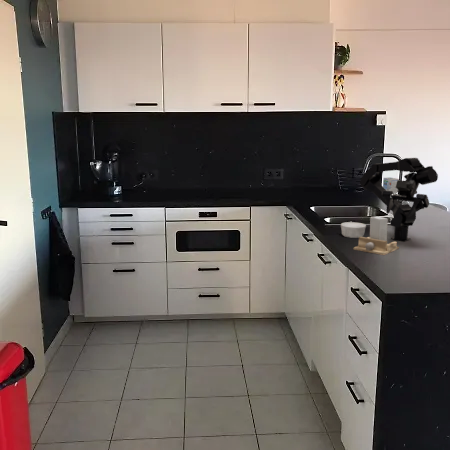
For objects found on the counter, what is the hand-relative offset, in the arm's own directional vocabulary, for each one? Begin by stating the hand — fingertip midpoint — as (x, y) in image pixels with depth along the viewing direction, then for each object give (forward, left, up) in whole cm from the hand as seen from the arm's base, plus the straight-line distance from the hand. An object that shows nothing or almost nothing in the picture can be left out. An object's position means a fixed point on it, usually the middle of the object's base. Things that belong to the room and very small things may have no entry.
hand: (397, 214), depth 207 cm
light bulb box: (-150, -70, -14) cm, 166 cm away
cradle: (+9, -4, -14) cm, 17 cm away
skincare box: (+8, -4, -13) cm, 16 cm away
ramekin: (-6, -23, -14) cm, 28 cm away
